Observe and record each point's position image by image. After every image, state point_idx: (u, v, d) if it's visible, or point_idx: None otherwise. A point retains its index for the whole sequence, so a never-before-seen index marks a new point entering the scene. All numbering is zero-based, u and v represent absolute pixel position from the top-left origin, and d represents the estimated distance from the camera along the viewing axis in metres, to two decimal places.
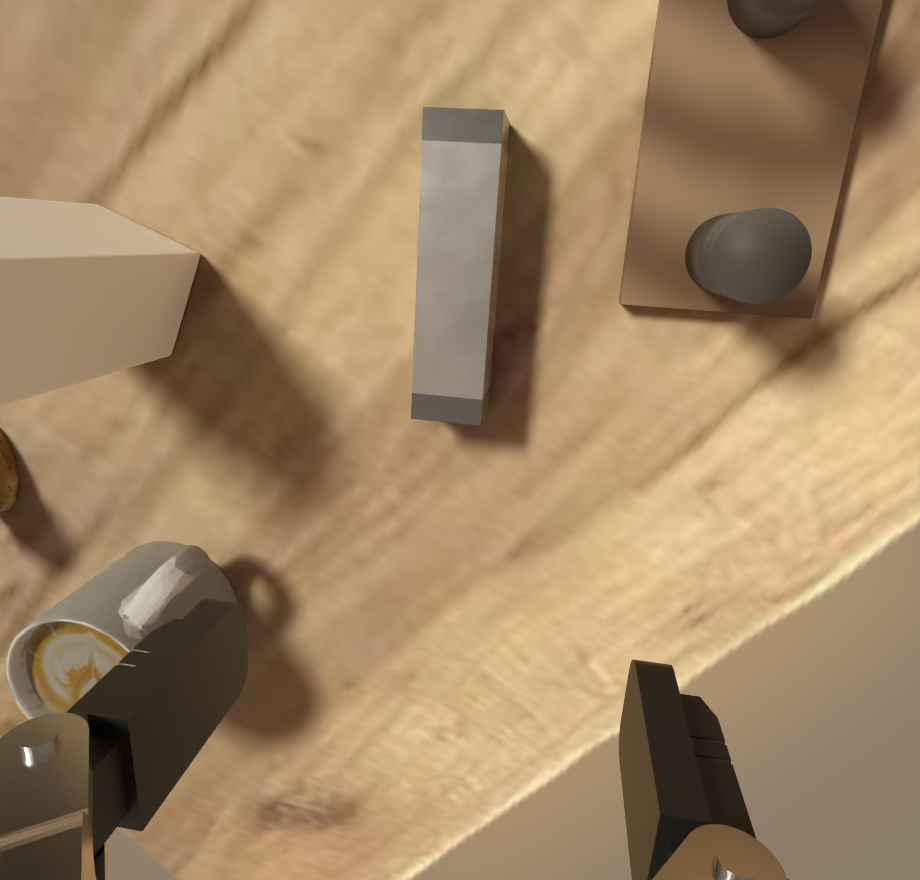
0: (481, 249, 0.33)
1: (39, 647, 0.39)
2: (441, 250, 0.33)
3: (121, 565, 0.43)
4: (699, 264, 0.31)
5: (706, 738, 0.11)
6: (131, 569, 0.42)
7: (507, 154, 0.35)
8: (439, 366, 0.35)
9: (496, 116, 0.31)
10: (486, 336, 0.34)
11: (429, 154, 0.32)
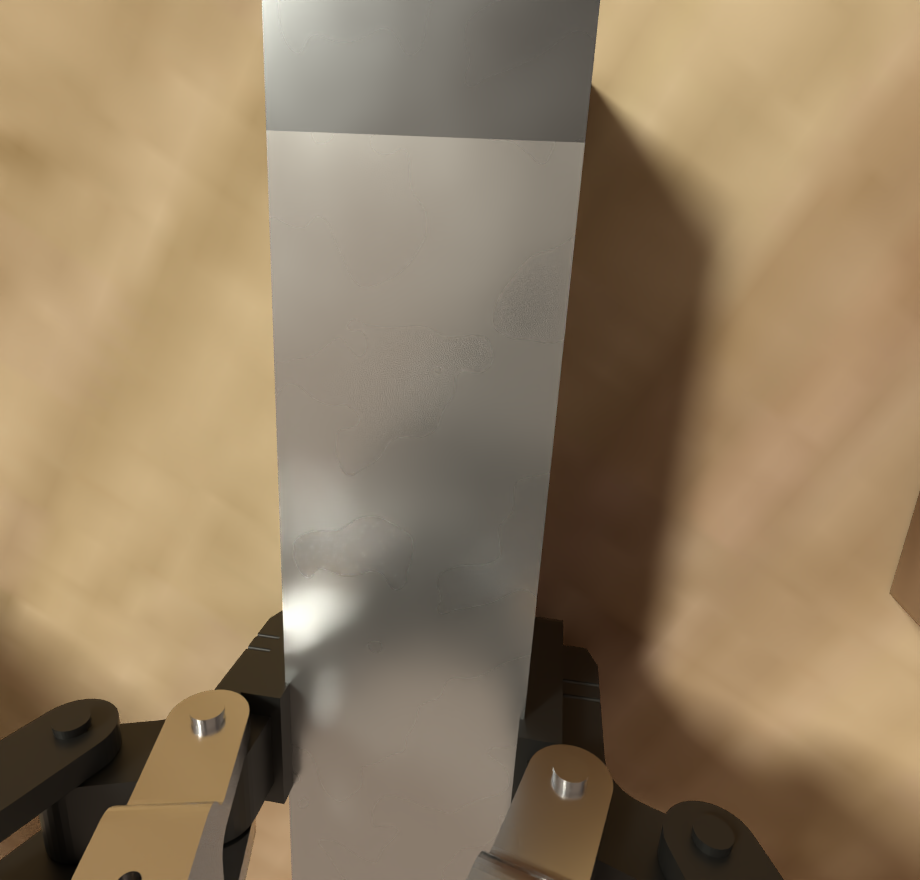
0: (499, 522, 0.09)
1: None
2: (360, 516, 0.10)
3: None
4: None
5: (582, 682, 0.12)
6: None
7: None
8: (368, 831, 0.11)
9: (566, 25, 0.07)
10: None
11: (298, 185, 0.08)
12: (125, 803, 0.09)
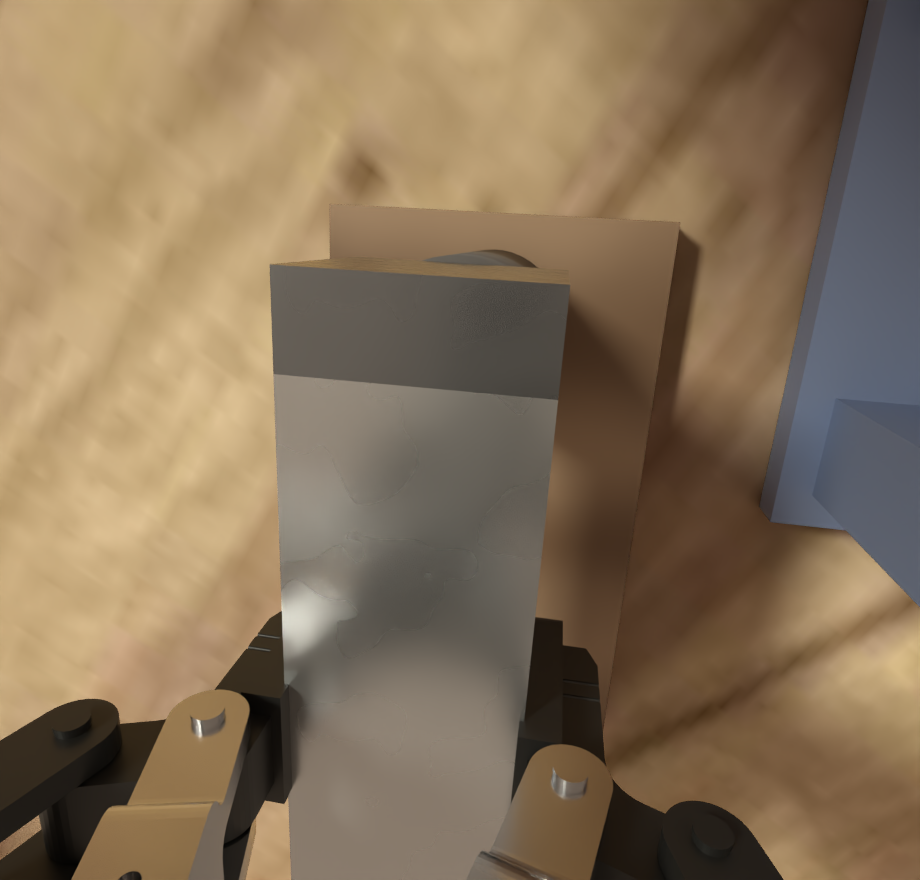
0: (484, 703, 0.10)
1: None
2: (359, 692, 0.10)
3: None
4: None
5: (582, 682, 0.12)
6: None
7: None
8: None
9: (541, 305, 0.08)
10: None
11: (302, 419, 0.09)
12: (125, 803, 0.09)
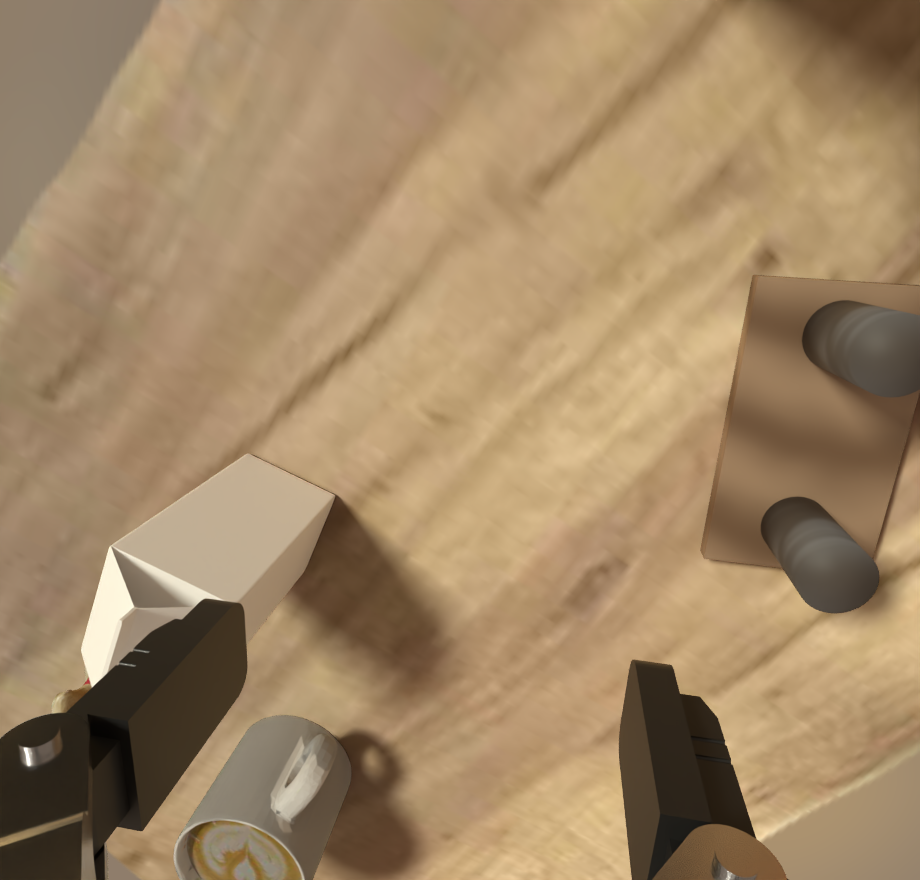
0: None
1: (200, 833, 0.46)
2: None
3: (258, 747, 0.50)
4: (779, 558, 0.37)
5: (706, 738, 0.11)
6: (269, 753, 0.49)
7: None
8: None
9: None
10: None
11: None
12: None
